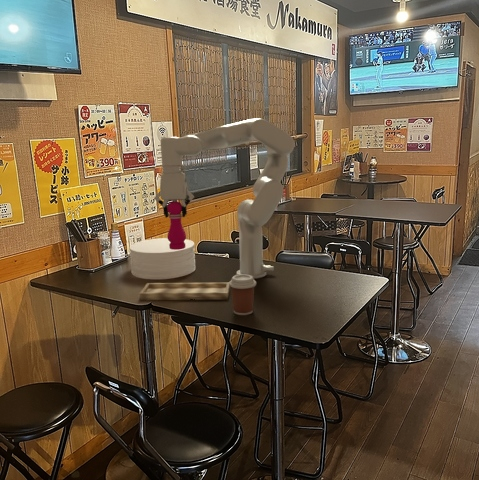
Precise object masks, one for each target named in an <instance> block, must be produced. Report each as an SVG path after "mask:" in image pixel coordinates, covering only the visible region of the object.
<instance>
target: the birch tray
mask: <svg viewBox="0 0 479 480" xmlns="http://www.w3.org/2000/svg"><path fill="white" fill-rule="evenodd" d="M229 282H230V281H229ZM229 282H147V283H146V284H145V285H144V287H143V288H142V289H141V290H140V292H139V294H138V295H139V300H140V301H165V300H166V301H169V300H170V301H175V300H178V301H179V300H180V301H183V300H185V301H186V300H188V301H189V300H190V299H193V300H192V301H194V299H195V300H198V301H199V300H200V301H201V300H228V299H229V294H230V291H231V287H230V286H229ZM190 301H191V300H190Z"/></svg>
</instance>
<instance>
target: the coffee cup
mask: <svg viewBox="0 0 479 480" xmlns="http://www.w3.org/2000/svg"><path fill="white" fill-rule="evenodd" d="M229 286H230V291H231V292H230V293H231V299H232V308H233V313H234V314H235V315H238V316H248V315H251V314H252V313H253V311H254V296H255V295H254V294H255V287H256V286H257V281H256V280H255V279H253V277H252V276H251V275H246V274H240V275H237V274H235V275H233V276H232V277H231V279H230V281H229Z"/></svg>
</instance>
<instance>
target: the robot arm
mask: <svg viewBox="0 0 479 480" xmlns="http://www.w3.org/2000/svg"><path fill="white" fill-rule="evenodd" d="M256 141H257V142H259V143H261V144H262V145H263V146H264V148H265V150H266V153H267V161H266V163H265V166H264V168H263V170H262V171H261V173H260V174H259V176H258V177H257V179H256V181H255V183H253V186H252V193H253V196H254V197H255V198H254V199H249V198H248V199H244V200H243V201H241V202H240V204H239V205H238V207H237V210H236V211H237V213H236V214H237V217H236V218H237V221H238V232H239V233H238V234H239V235H238V236H239V237H238V238H239V245H238V247H239V270H237V271H236V275H240V274H246V275H251V276H252V277H253V279H254V280H255V279H261V278H263V277H265V276H267V272H274V267H275V266H274V265H273V266H271V265H270V264H269V265H265V264H264V262H263V259H264V258H263V255H264V254H263V253H264V252H263V226H265V225H266V224H267V223H268V221H269V220H270V219H271V217H272V216H273V214H274V213H275V211H276V209H277V207H278V205H279V204H280V202H281V201H282V199H283V197H284V187H283V184H282V183H281V182H282V180H283V177H284V176H285V174H286V171H287V169H288V165H289V163H288V158H289V157H288V155H290V154H291V153H292V152H293V151H294V149H295V141H294V138H293V137H292V136H291V135H290V134H289V133H288V132H286V131H284V130H283V129H281V128H279V127H278V126H277V125H274V123H271V122H270V121H268V120H266V119H264V118H261V117H259V118H258V117H257V118H250V119H246V120H242V121H238V122H234V123H233V122H232V123H229V124H225V125H221V126H217V127H215V128H211V129H208V130H204V131H200V132H196V133H192V134H191V133H190V134H186V135H184V136H182V137H177V136H167V137H162V138H161V139H160V152H161V153H160V155H161V167H162V173H161V174H160V181H159V182H160V183H159V184H160V185H159V189H160V190H159V191H158V193H157V194H156V195H155V196H154V198H153V199H154V200H155V201H156V202H157V203H158V204H159V205H160V206H161V207H162V208H163V216H164V217H165V218H166V219H167V218H169V214H170V213H169V212H168V211H167V206H168V204H169V203H168V202H169V201H172V200H177V201H180V203H181V204H182V212H181V214H182V217H181V218H185V217H186V215H187V214H188V213H187V212H188V211H187V206H188V205H189V204H190V203H191V201H192V200H193V199H195V195H194V194H193V193H191V192H190V191H189V189H188V183H187V177H186V173H185V172H184V171H187V166H183V161H182V158H183V157H182V156H189V157H195V156H198V155H199V154H200V153H202V152H205V151H209V150H217V149H218V150H219V149H220V150H221V149H227V148H228V149H229V148H231V147H235V146H240V145H244V144H248V143H251V142H256ZM186 199H187V200H186Z"/></svg>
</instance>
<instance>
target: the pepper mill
mask: <svg viewBox="0 0 479 480" xmlns="http://www.w3.org/2000/svg"><path fill="white" fill-rule="evenodd" d="M182 207H183V206H182V203H181V201H178V200H171V202H169V203H167V211H168V212H169V216H168V218H169V220H170V226H169V230H168V233H167V238H168V240H169V241H170V244H169V247H170V249H173V250H179V249H184V248H185V243H184V241H185V239H187V234H186V231H185V229H184V227H183V224H182V218H183V217H182Z"/></svg>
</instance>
